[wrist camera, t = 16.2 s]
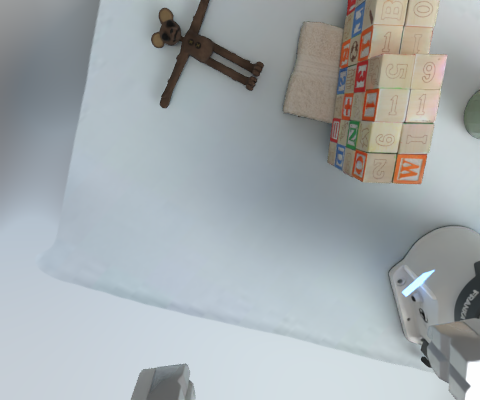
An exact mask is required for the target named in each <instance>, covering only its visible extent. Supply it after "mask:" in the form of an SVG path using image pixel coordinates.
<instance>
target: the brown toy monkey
mask: <svg viewBox="0 0 480 400" xmlns="http://www.w3.org/2000/svg"><path fill="white" fill-rule="evenodd" d="M209 1H210V0H201V1H200V4H199V6H198V9H197V11H196V14H195V16H193V21H192V23H191V26H190V29H189V30H188V31H187V33H186V35H185V36H184V37H182V36H181V30H180V27H179V25H178V24H177V23H176V22H174V21H173V14H172V12H171V11H170V10H169V9H167V8H162V9H161V10H160V12H159V19H160V22H161V24H162V25H161V28H160V31H159V32H156V33H154V34H153V35H152V38H151V41H152V44H153V45H154V46H155V47H157V48H162V47H163V46H164V44H168V45H171V46H172V45H175V44H176V43H178V42H179V41H181V42H182V45H181V51H180V54H179V55H178V56H177V58H176V59H177V61H176V64H175V67H174V69H173V72H172V74H171V77H170V79H169V80H168V84H167V86H166V89H165V91H164V92H163V94H162V96H161V97H162V98H161V101H160V106H161V107H162V108H167V107H168V105H169V102H170V99H171V95H172V92H173V90H174V87H175V85H176V83H177V81H178V79H179V76H180V74H181V72H182V70H183V68H184V66H185V64H186V62H187V59H188V57H189V55H191V56H192V57H194V58H195V59H197V60H198V61H200V62H202V63H205V64H207V65H209V66H210V67H212V68H214V69H216V70H218V71H220V72H222V73H223V74H225V75H227V76H229V77H231V78H232V79H233V80H235V81H236V80H237V81H239V82H241V83H242V84H244V85H245V86H246V88H247V89H248V90H250V91H252V90H253V87H254V86H255V83H256V82H257V79H256V78H255V77H253V76H251V77H246V76H244V75H242V74H240V73H238V72H236V71H234V70H233V69H231V68H229V67H227V66H225V65H223V64H221V63H219V62H217V61H216V60H214V59H212V58H210V57H211V55H212V53H213V52H215V53H217V54H219V55H221V56H222V57H224V58H226V59H228V60H230V61H232V62H233V63H235V64H237V65H239V66H241V67H242V68H244V69H246V70H248V71H249V72H251V73H252V74H253V75H254V76H256V77H258V76H259V75H260V73H261V71H262V68H263V67H264V64H263V63H261V62H257V63H256V64H252V63H250V61H248V60H245V59H243V58H241V57H239V56H237V55H236V54H234V53H232V52H230V51H228V50H226V49H225V48H223V47H221V46H219V45H217V44H215V43H214V42H213V41H211V40H210V39H209V38H206V37H204V36H200V35H198V33H199V30H200V27H201V25H202V22H203V18H204V15H205V12H206V9H207V6H208V3H209Z"/></svg>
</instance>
